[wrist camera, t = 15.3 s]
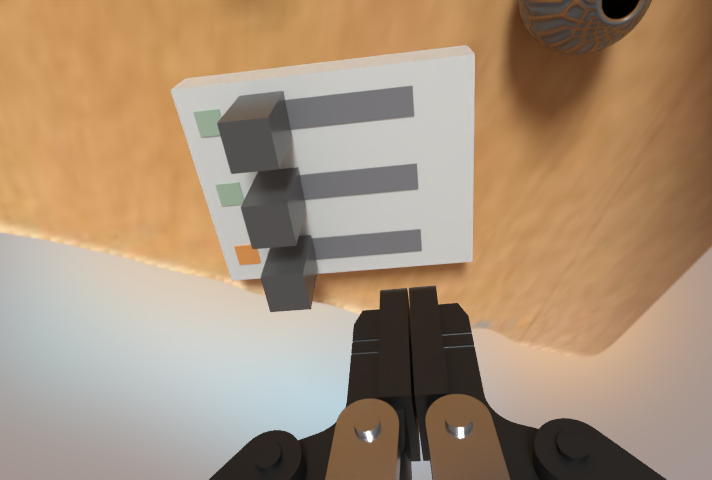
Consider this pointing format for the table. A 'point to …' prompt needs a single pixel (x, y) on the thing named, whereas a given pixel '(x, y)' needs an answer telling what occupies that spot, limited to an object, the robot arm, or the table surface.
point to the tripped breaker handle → (290, 276)
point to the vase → (580, 22)
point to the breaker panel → (338, 159)
